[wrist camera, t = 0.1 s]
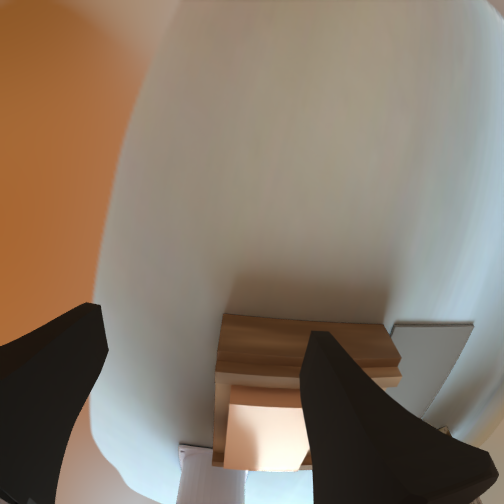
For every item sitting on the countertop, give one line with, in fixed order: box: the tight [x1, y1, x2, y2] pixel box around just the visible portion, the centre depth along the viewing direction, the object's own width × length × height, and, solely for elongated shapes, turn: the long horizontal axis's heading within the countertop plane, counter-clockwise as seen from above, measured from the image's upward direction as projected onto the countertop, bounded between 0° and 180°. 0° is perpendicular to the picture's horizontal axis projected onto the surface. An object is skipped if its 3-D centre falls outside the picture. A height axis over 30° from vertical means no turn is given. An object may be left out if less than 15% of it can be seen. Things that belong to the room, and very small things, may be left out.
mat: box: [385, 324, 474, 419], centre depth 24 cm, size 14×9×1 cm, turn 174°
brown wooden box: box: [212, 314, 402, 470], centre depth 22 cm, size 14×12×5 cm
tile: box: [223, 385, 310, 472], centre depth 19 cm, size 9×6×2 cm, turn 174°
